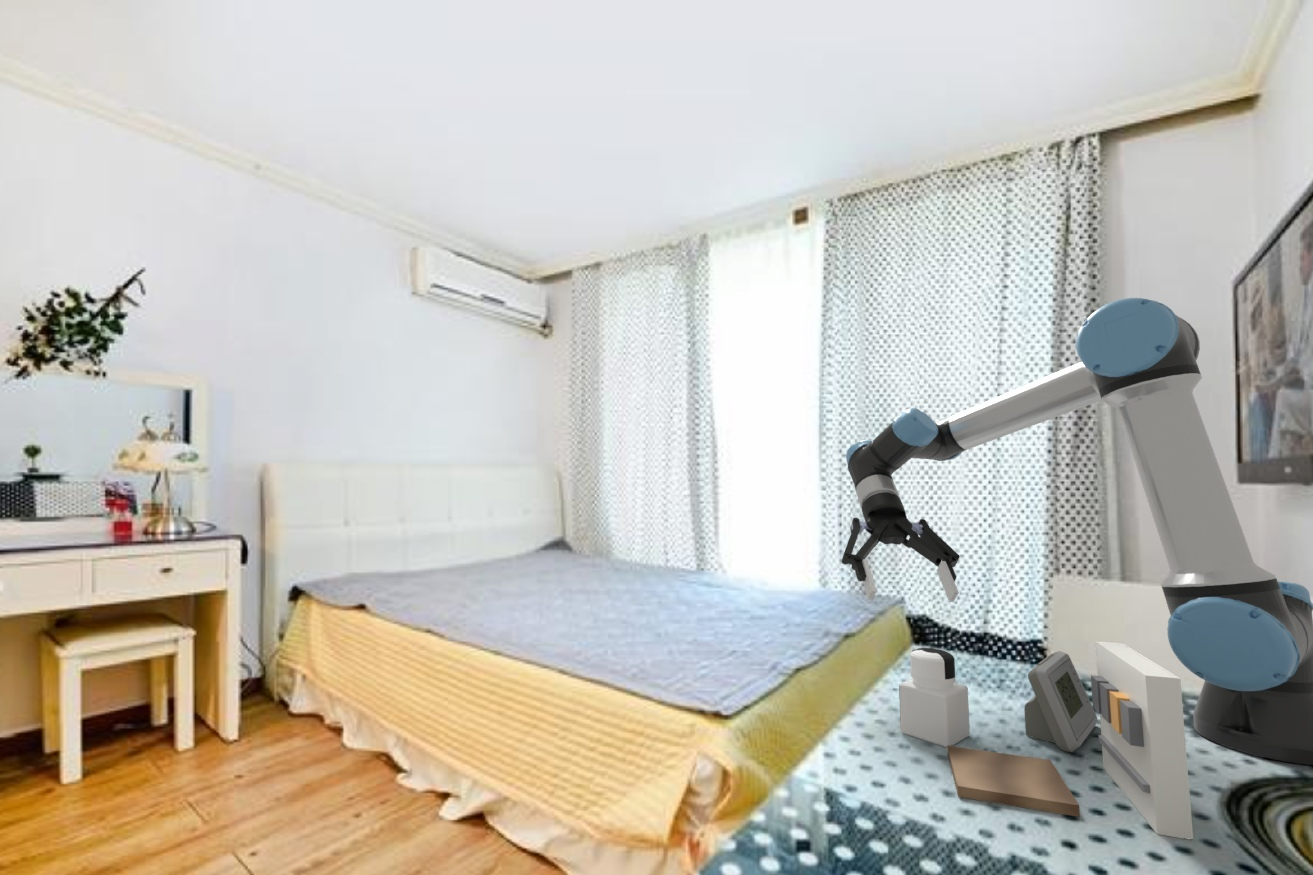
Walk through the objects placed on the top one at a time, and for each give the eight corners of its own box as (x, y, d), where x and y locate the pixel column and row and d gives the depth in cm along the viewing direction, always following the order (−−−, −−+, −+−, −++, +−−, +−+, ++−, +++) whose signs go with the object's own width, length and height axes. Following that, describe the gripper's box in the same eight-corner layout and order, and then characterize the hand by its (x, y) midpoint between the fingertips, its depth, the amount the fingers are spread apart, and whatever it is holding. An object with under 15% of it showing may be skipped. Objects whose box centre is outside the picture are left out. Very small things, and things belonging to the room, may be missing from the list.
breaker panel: (1131, 772, 75) (1122, 643, 77) (1193, 840, 60) (1180, 678, 62) (1092, 766, 77) (1084, 640, 78) (1143, 831, 62) (1131, 674, 63)
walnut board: (1050, 769, 76) (1050, 759, 76) (1080, 817, 65) (1079, 805, 65) (947, 754, 80) (947, 745, 80) (958, 796, 69) (957, 785, 69)
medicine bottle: (923, 721, 92) (919, 642, 93) (970, 736, 87) (966, 651, 88) (899, 733, 87) (896, 649, 89) (948, 749, 82) (944, 660, 83)
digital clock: (1072, 759, 79) (1067, 677, 80) (1003, 736, 87) (999, 661, 88) (1122, 733, 88) (1117, 659, 89) (1055, 714, 96) (1051, 646, 97)
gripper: (939, 517, 118) (980, 610, 101) (813, 515, 118) (834, 607, 102) (951, 491, 113) (996, 584, 97) (819, 489, 113) (842, 581, 97)
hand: (913, 596), depth 99 cm, fingers open, 13 cm apart
